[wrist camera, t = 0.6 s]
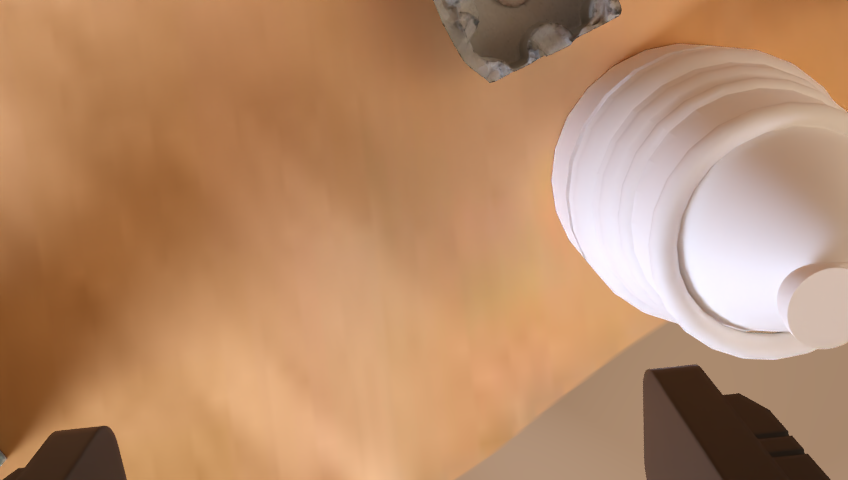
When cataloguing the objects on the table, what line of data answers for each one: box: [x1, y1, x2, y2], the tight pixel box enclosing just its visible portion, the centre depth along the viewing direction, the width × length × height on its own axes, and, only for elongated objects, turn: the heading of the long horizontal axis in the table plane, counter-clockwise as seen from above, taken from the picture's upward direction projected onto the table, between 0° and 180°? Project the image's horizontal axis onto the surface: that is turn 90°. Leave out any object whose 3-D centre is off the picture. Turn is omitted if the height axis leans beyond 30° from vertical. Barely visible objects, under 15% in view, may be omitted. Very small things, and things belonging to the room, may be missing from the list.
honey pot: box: [552, 43, 848, 360], centre depth 32 cm, size 13×13×18 cm
